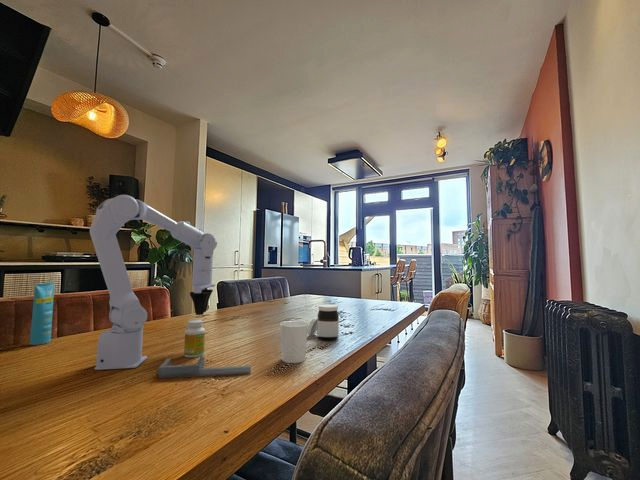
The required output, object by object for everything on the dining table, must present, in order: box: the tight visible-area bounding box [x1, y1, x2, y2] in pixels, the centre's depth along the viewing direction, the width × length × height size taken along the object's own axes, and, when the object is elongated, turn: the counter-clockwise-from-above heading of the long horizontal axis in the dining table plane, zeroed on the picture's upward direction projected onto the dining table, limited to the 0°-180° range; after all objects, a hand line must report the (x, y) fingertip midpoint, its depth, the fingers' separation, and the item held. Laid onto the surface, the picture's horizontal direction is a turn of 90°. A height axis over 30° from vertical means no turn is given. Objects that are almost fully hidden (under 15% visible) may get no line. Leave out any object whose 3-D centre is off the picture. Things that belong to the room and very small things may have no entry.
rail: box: [157, 356, 252, 379], centre depth 74 cm, size 21×6×2 cm, turn 101°
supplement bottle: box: [183, 319, 206, 359], centre depth 86 cm, size 5×5×10 cm
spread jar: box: [307, 303, 340, 342], centre depth 107 cm, size 12×11×12 cm
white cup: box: [279, 320, 309, 364], centre depth 84 cm, size 8×8×10 cm
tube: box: [29, 281, 55, 346], centre depth 95 cm, size 7×5×19 cm, turn 13°
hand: (200, 313), depth 95 cm, fingers open, 4 cm apart
